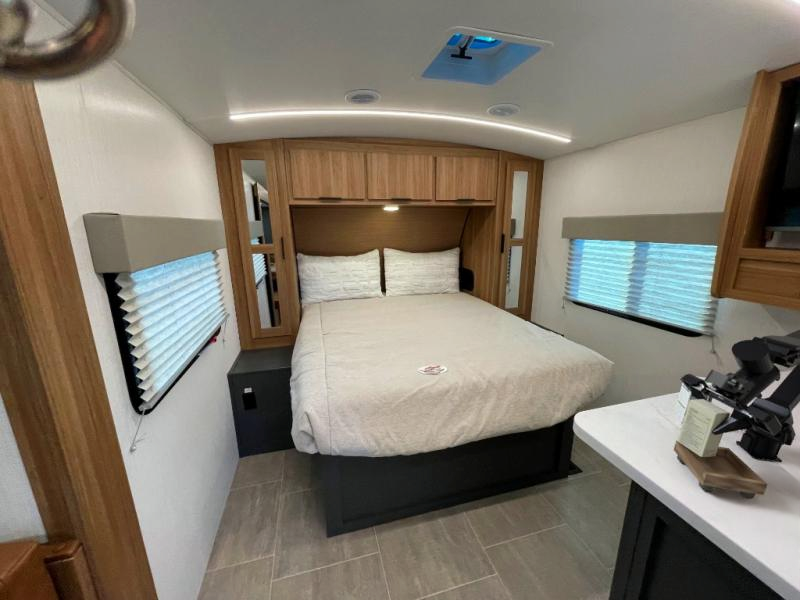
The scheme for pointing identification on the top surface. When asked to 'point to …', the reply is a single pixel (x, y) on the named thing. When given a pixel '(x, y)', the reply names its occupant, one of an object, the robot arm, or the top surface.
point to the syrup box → (687, 400)
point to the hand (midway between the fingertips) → (699, 424)
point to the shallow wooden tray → (722, 471)
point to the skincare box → (702, 427)
